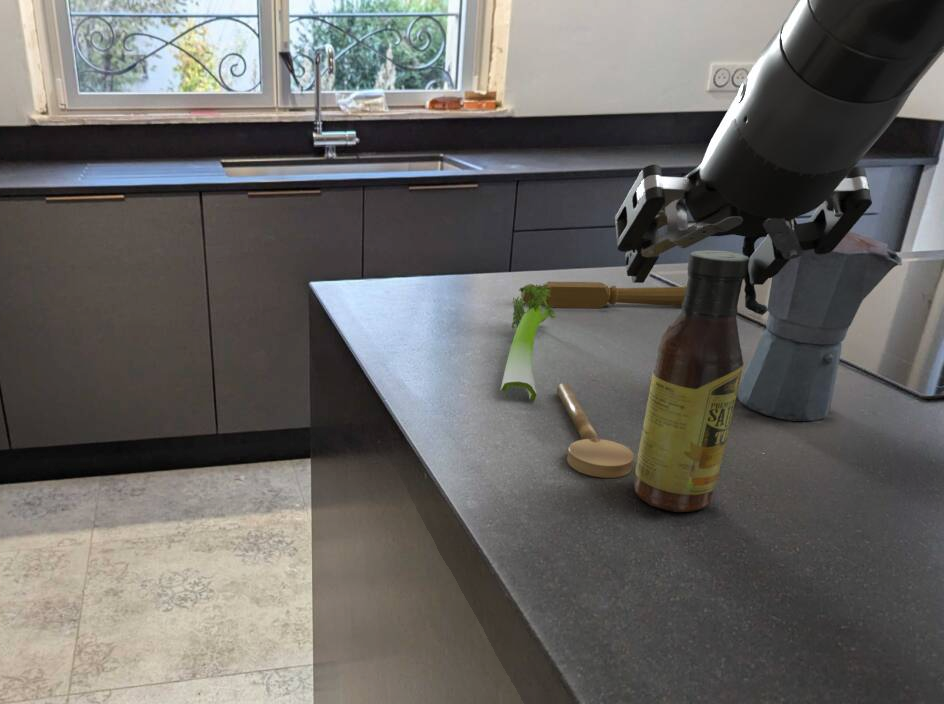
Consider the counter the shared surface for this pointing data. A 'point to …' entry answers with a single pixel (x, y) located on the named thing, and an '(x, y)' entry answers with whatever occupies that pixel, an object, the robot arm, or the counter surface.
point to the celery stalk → (525, 339)
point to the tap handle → (606, 295)
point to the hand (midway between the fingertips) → (695, 273)
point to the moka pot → (809, 325)
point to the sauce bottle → (693, 388)
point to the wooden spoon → (593, 444)
